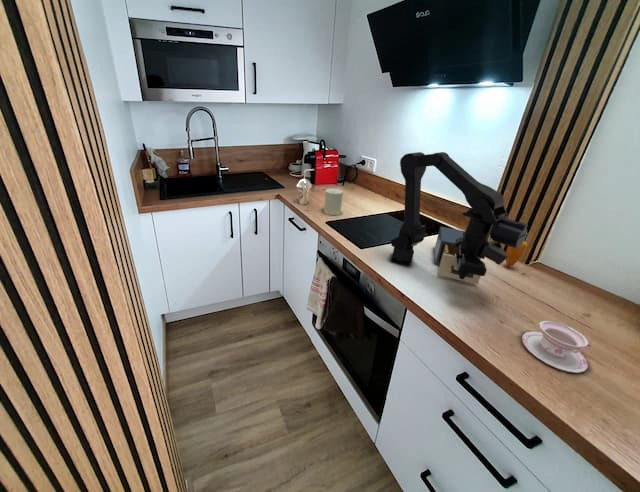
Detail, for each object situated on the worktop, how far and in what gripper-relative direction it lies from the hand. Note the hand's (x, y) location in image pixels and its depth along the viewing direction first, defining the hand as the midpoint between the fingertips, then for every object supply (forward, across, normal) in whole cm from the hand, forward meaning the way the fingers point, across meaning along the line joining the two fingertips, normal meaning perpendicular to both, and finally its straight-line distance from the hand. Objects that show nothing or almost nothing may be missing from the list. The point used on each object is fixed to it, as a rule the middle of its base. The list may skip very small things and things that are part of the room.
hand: (461, 278), depth 89 cm
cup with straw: (+5, +51, +74) cm, 89 cm away
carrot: (+5, +25, -18) cm, 31 cm away
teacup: (+5, -17, -19) cm, 26 cm away
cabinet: (+4, +21, 0) cm, 21 cm away
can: (+5, +46, +55) cm, 72 cm away
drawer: (+4, +9, 0) cm, 10 cm away
